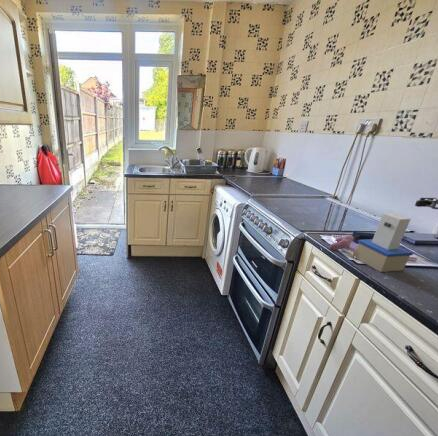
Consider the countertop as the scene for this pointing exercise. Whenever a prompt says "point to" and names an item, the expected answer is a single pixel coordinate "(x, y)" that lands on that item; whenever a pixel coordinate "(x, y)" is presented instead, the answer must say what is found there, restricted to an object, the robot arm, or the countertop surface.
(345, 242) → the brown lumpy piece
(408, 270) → the countertop surface
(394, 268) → the container
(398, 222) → the white case
